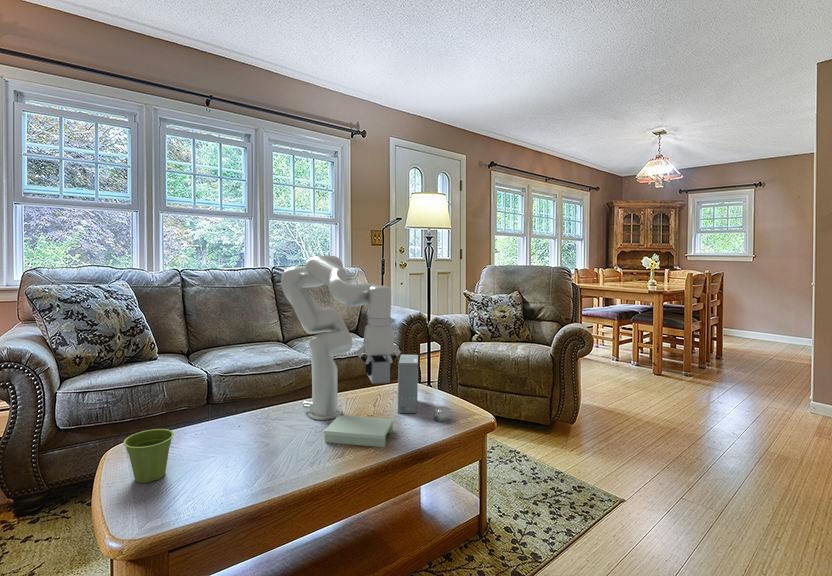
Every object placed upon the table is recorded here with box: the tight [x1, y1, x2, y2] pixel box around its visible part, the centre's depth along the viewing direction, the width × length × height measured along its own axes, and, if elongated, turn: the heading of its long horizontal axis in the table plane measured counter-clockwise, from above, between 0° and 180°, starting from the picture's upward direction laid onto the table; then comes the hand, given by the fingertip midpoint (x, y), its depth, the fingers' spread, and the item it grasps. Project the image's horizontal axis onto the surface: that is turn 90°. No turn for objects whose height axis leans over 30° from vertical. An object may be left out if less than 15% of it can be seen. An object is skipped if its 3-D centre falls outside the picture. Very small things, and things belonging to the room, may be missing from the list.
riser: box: [323, 414, 394, 448], centre depth 147 cm, size 20×14×4 cm
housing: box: [366, 356, 391, 385], centre depth 148 cm, size 10×6×7 cm, turn 16°
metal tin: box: [433, 406, 451, 424], centre depth 162 cm, size 6×6×4 cm
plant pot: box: [122, 428, 175, 484], centre depth 119 cm, size 12×12×11 cm
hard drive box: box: [397, 354, 419, 414], centre depth 175 cm, size 16×8×20 cm, turn 179°
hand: (378, 373), depth 148 cm, fingers closed on housing, 6 cm apart
